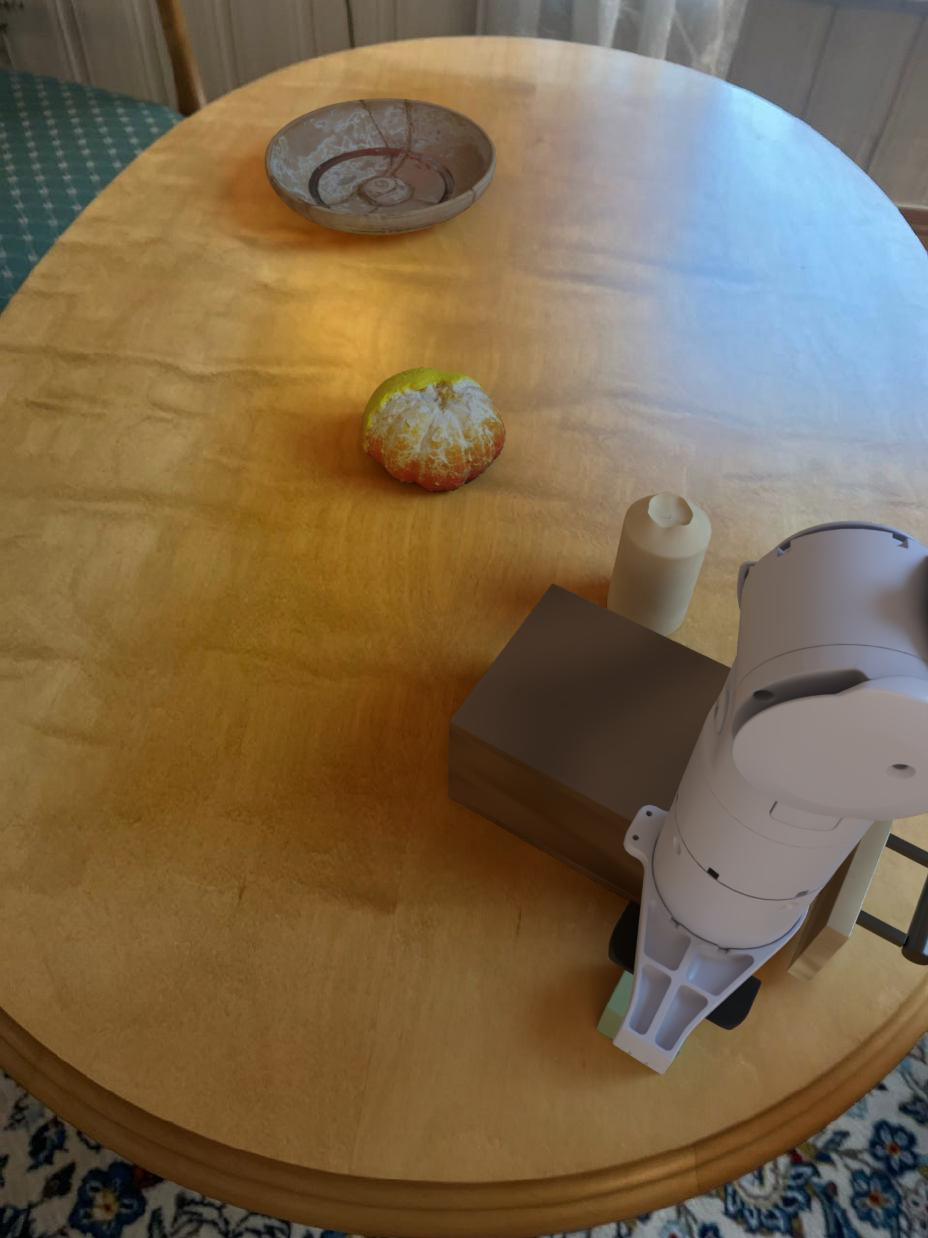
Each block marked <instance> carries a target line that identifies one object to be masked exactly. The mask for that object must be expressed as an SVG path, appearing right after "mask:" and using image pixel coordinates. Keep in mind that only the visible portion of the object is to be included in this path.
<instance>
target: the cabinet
mask: <svg viewBox="0 0 928 1238" xmlns="http://www.w3.org/2000/svg"><path fill="white" fill-rule="evenodd" d="M730 670H731V666H728V665H726V664H725V663H722V662H719V661H718V660H716V659H713V658H711V657H709V656H707V655H705V654H702V653H700V652H698V651H696V650H694V649H692V648H690V647H689V646H687V645H684V644H682V643H680V642H677V641H675V640H673V639H671V638H669V637H668V636H663V635H661V634H659V633H657V632H654V631H652V630H650V629H648V628H646V627H644V626H642V625H640V624H638V623H636V622H633V621H631V620H629V619H627V618H625V617H623V616H621V615H619V614H617V613H615V612H612V611H610V610H608V608H606V607H604V606H602V605H599V604H598V603H596V602H594V601H592V600H589V599H587V598H585V597H583V596H581V595H579V594H577V593H574V592H572V591H570V590H568V589H566V588H564V587H562V586H560V585H558V584H555V583H551V585H550V586H549V588H548V589H547V590H546V591H545V593H544V594H543V595H542V597H541V598H540V599H539V601H538V602H537V603H536V605H535V606H534V608H533V609H532V610H531V611H530V613H529V614H528V615H527V616H526V618H525V619H524V621H523V622H522V623H521V624H520V626H519V627H518V629H517V630H516V631H515V632H514V634H513V635H512V636H511V638H510V639H509V640H508V642H507V643H506V645H505V646H504V647H503V648H502V650H501V651H500V652H499V654H498V655H497V656H496V658H495V659H494V661H493V662H492V663H491V664H490V666H489V667H488V668H487V670H486V671H485V672H484V673H483V675H482V676H481V678H480V679H479V680H478V681H477V683H476V684H475V685H474V686H473V689H472V690H471V691H470V693H468V695H467V696H466V697H465V699H464V700H463V702H462V703H461V704H460V706H458V708H457V710H456V711H455V712H454V713H453V715H451V717H450V719H449V720H448V760H447V761H448V762H447V763H448V766H447V768H448V769H447V770H448V773H447V776H448V777H447V779H448V780H447V797H448V798H450V799H451V800H454V801H455V802H457V803H458V804H460V805H462V806H463V807H465V808H467V809H469V810H471V811H472V812H474V813H476V814H478V816H481V817H483V818H484V819H486V820H488V821H490V822H491V823H493V824H495V825H497V826H499V828H502V829H504V830H505V831H507V832H508V833H511V834H512V835H514V836H516V837H517V838H518V839H519V838H520V839H521V840H523V841H524V842H526V843H528V844H529V845H531V846H533V847H535V848H536V849H538V850H540V851H542V852H544V853H545V854H547V855H549V856H551V858H554V859H555V860H558V861H559V862H560V863H563V864H564V865H566V866H568V867H570V868H571V869H573V870H574V871H576V872H578V873H580V874H582V875H583V876H585V877H587V878H588V879H590V880H592V881H594V882H596V883H597V884H599V885H601V886H602V887H604V888H606V889H608V890H609V891H611V892H613V893H614V894H616V895H618V896H619V897H621V898H623V899H625V900H626V901H628V902H629V900H630V899H631V900H633V901H635V902H636V903H638V904H640V905H641V899H642V889H643V880H644V866H643V864H642V862H641V861H640V860H639V859H637V858H636V857H634V856H632V855H630V854H629V853H628V852H627V851H626V850H625V847H624V844H623V843H624V839H625V835H626V833H627V831H628V829H629V827H630V825H631V823H632V822H633V820H634V818H635V816H636V815H637V813H638V811H639V810H640V809H641V808H642V807H643V806H647V805H652V806H655V807H658V808H659V809H661V810H663V811H666V812H669V811H670V808H671V806H672V803H673V801H674V799H675V796H676V793H677V791H678V788H679V785H680V783H681V780H682V778H683V775H684V773H685V770H686V768H687V765H688V763H689V760H690V758H691V755H692V753H693V750H694V748H695V745H696V743H697V740H698V738H699V736H700V733H701V731H702V728H703V726H704V723H705V721H706V718H707V716H708V714H709V712H710V710H711V708H712V707H713V705H714V704H715V702H716V701H717V699H718V697H719V695H720V693H721V691H722V689H723V687H724V684H725V682H726V680H727V677H728V675H729V672H730Z"/></svg>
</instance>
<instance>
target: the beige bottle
mask: <svg viewBox="0 0 928 1238" xmlns="http://www.w3.org/2000/svg"><path fill="white" fill-rule="evenodd" d="M712 531H713V530H712V525H711V521H710V519H709V517H708V515H707V514H706V513H705V511H704V510H703V509H701V508H700V507H699V506H698V505H697V504H696V503H694V502H693V501H691V500H689V499H687V498H686V497H683V496H681V495H679V494H677V493H675V492H672V491H662V492H660V493H656V494H652V495H647V496H644V497H641V498H640V499H637V500H635V501H634V502H633V503H632V504H630V506H629V507H628V508H627V510H626V512H625V515H624V517H623V523H622V527H621V532H620V537H619V541H618V546H617V551H616V555H615V559H614V560H615V561H614V566H613V569H612V574H611V579H610V584H609V588H608V593H607V600H606V605H607V606H606V607H607V608H606V609H608V610H610V611H612V612H615V613H617V614H619V615H621V616H623V617H625V618H627V619H629V620H631V621H633V622H636V623H638V624H640V625H642V626H644V627H646V628H648V629H650V630H652V631H654V632H657V633H659V634H661V635H663V636H665V637H668V636H670V635H672V634H673V633H675V632H676V631H677V630H679V628H680V627H681V626H682V624H683V622H684V620H685V619H686V618H685V617H686V615H687V613H688V609H689V606H690V603H691V600H692V596H693V593H694V591H695V587H696V585H697V581H698V578H699V575H700V572H701V568H702V566H703V562H704V559H705V556H706V554H707V550H708V547H709V544H710V541H711V537H712Z"/></svg>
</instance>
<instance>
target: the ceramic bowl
mask: <svg viewBox="0 0 928 1238" xmlns="http://www.w3.org/2000/svg"><path fill="white" fill-rule="evenodd" d="M496 168H497V149H496V146H495V144H494V142H493V140H492V138H491V137H490V135H489V134H488V133H487V131H486V130H485V129H484V128H483V127H482V126H481V125H480V124H478V123H477V122H476V121H474V120H473V119H472V118H470V117H469V116H467V115H465V114H463V113H461V112H459V111H457V110H454V109H452V108H449V107H447V106H445V105H441V104H437V103H432V102H430V101H424V100H417V99H407V98H391V97H389V98H387V97H384V98H383V97H381V98H378V97H377V98H364V99H363V98H362V99H355V100H354V99H353V100H346V101H343V102H337V103H332V104H329V105H325V106H322V107H320V108H317V109H314V110H312V111H311V110H310V111H309V112H307V113H304V114H302V115H301V116H299V117H296V118H295V119H293V120H290V121H289V122H288V123H287V124H285V125H284V126H283V127H281V129H280V130H278V131H277V132H276V133H275V134H274V135H273V136H272V138H271V139H270V141H269V143H268V144H267V146H266V149H265V154H264V170H265V174H266V179H267V181H268V183H269V186H270V187H271V188H272V189H273V191H274V192H275V194H276V195H277V196H278V197H279V199H281V201H282V202H283V203H284V204H285V205H286V206H287V207H289V208H290V209H291V210H292V211H294V212H295V213H297V214H298V215H300V216H301V217H303V218H305V219H306V220H308V221H310V222H312V223H315V224H316V225H320V226H322V227H324V228H328V229H331V230H334V231H338V232H343V233H347V234H348V233H349V234H356V235H363V236H364V235H365V236H366V235H367V236H369V235H370V236H391V235H392V236H393V235H401V234H408V233H414V232H418V231H421V230H426V229H429V228H432V227H433V228H434V227H435V226H438V225H440V224H444V223H446V222H447V221H450V220H452V219H454V218H456V217H458V216H459V215H461V214H462V213H464V212H465V211H467V210H469V208H471V207H472V205H474V204H475V203H476V202H477V201H478V200H479V199H480V198H481V197H482V196H483V195H484V193H485V192H486V191H487V190H488V188H489V187H490V186H491V184H492V181H493V179H494V176H495V173H496Z"/></svg>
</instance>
